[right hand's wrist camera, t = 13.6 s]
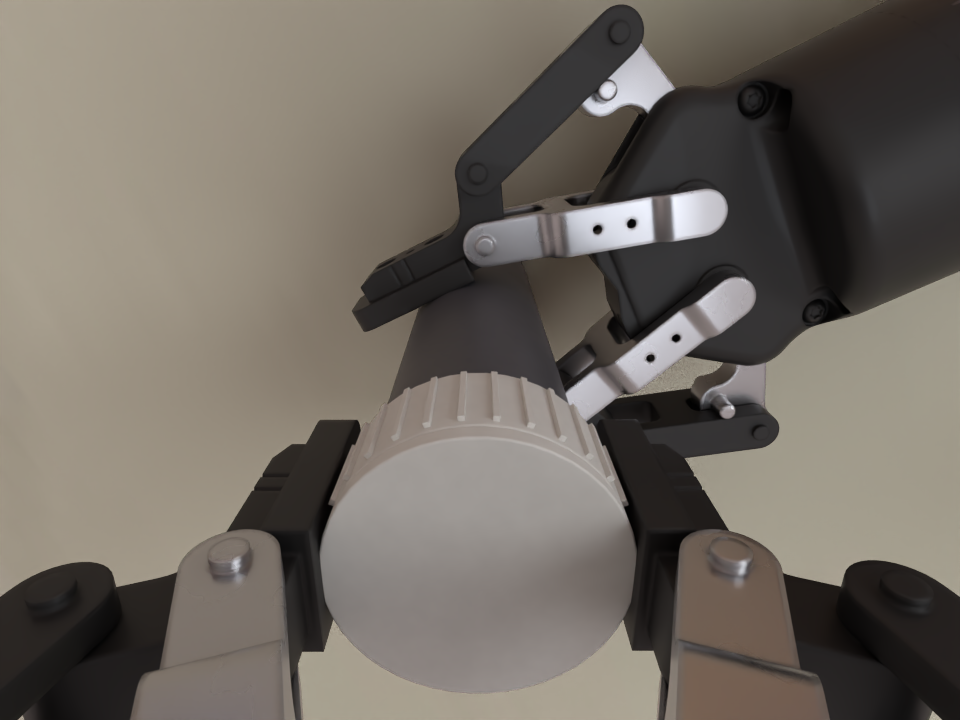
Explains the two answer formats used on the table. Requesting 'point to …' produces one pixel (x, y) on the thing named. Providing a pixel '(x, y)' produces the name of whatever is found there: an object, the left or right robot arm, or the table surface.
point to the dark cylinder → (481, 334)
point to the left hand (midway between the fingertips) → (402, 378)
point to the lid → (478, 537)
